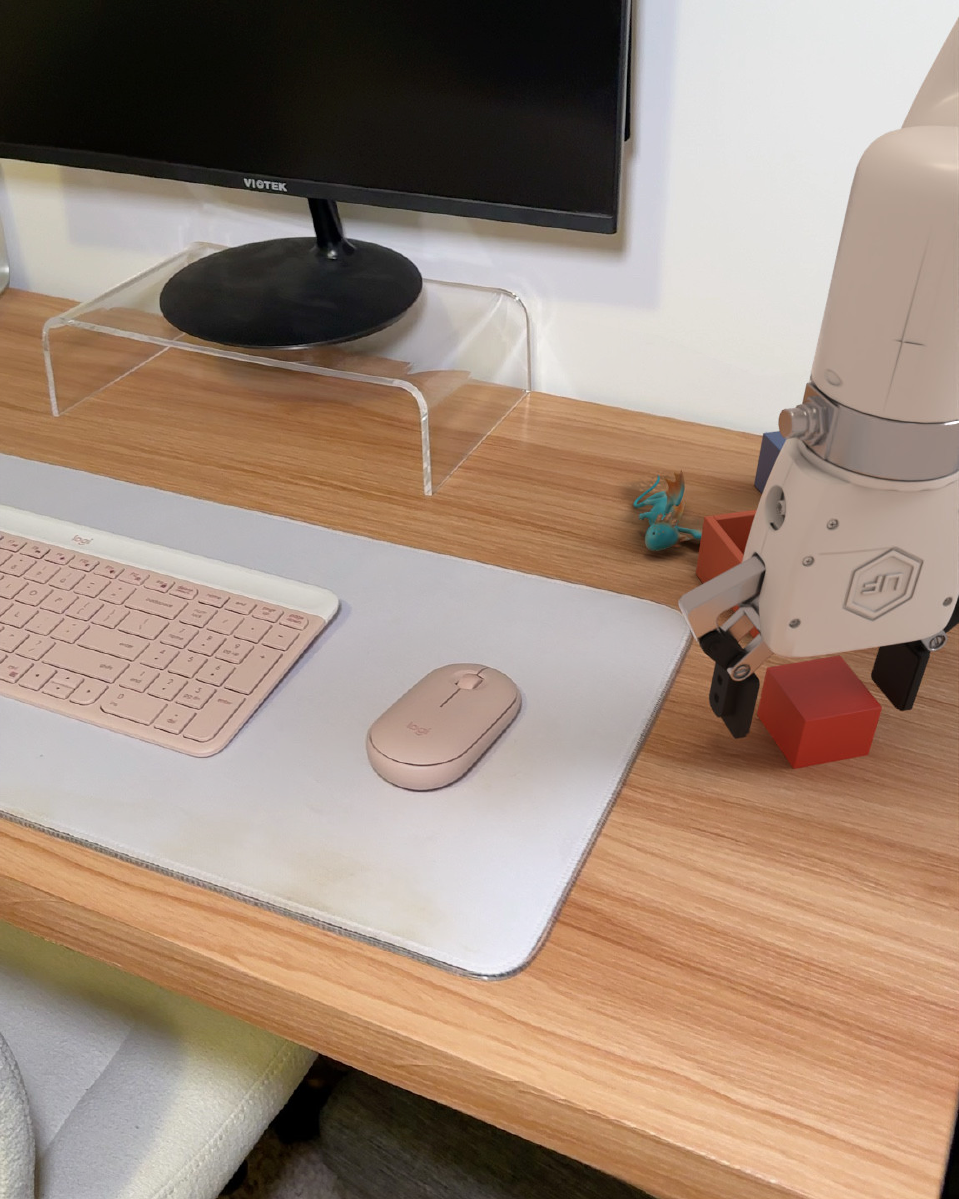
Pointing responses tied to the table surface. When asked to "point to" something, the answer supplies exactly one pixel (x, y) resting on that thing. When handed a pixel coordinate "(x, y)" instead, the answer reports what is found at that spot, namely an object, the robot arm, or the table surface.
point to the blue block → (768, 457)
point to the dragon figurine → (665, 516)
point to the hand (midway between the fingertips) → (810, 707)
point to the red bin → (724, 545)
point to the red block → (818, 711)
